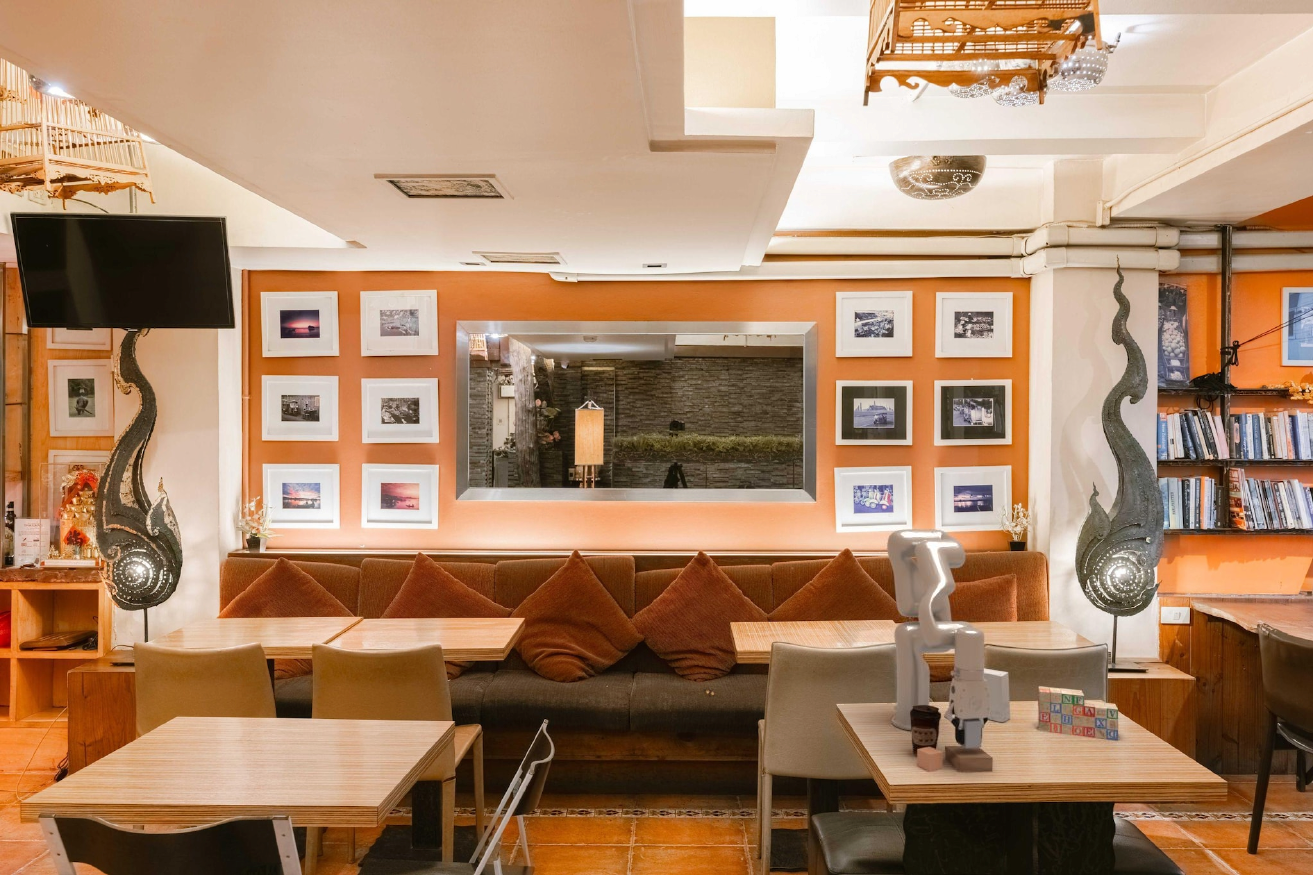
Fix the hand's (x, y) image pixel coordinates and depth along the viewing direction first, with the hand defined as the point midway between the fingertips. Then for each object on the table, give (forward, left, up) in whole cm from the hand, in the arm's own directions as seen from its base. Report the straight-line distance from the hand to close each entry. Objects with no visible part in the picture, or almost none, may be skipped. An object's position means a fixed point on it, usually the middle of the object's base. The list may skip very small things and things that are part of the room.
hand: (968, 741), depth 227 cm
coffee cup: (-10, -7, -7) cm, 14 cm away
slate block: (0, 0, -1) cm, 1 cm away
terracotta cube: (-1, -11, -7) cm, 13 cm away
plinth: (0, 0, -7) cm, 7 cm away
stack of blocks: (-17, +49, -7) cm, 52 cm away
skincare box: (-34, +32, -7) cm, 47 cm away
